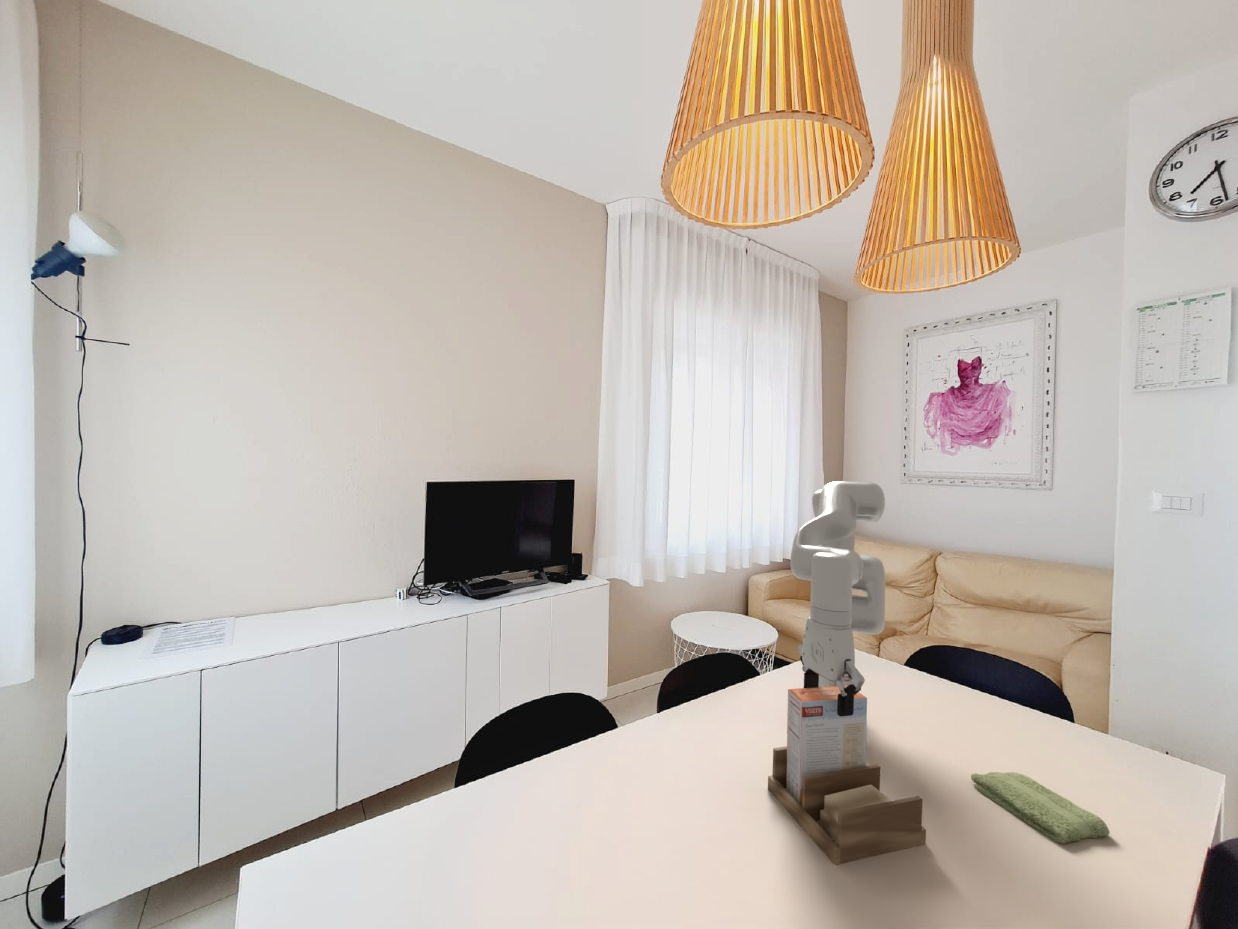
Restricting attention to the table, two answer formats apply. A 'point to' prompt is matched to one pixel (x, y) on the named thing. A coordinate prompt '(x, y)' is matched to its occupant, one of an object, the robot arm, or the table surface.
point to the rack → (850, 813)
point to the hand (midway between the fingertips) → (827, 703)
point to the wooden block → (847, 805)
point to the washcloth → (1040, 806)
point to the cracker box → (822, 735)
